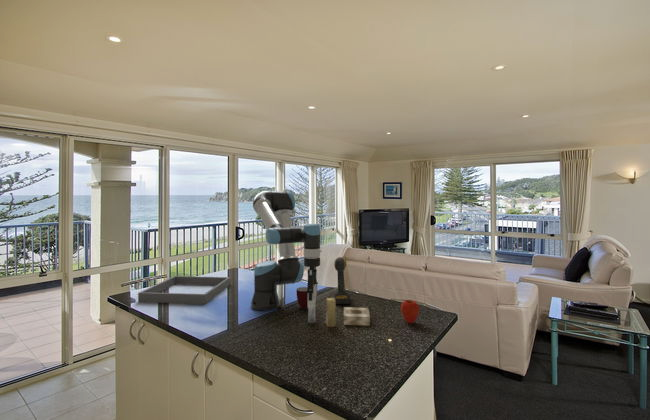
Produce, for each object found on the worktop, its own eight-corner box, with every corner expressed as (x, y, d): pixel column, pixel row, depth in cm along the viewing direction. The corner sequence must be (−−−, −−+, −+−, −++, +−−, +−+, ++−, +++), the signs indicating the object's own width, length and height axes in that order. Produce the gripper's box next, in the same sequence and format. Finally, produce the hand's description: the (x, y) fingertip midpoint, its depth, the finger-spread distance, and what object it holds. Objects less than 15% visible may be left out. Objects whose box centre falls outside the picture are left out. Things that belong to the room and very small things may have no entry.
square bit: (327, 327, 145) (327, 300, 145) (325, 323, 149) (326, 298, 148) (335, 326, 146) (335, 300, 145) (333, 323, 149) (333, 297, 149)
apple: (396, 320, 153) (396, 298, 153) (411, 318, 156) (411, 296, 156) (407, 327, 145) (408, 304, 145) (422, 324, 149) (423, 301, 148)
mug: (318, 308, 169) (318, 289, 168) (307, 312, 163) (307, 293, 162) (303, 304, 176) (304, 286, 175) (293, 307, 170) (293, 289, 169)
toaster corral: (138, 301, 177) (138, 293, 177) (174, 283, 215) (174, 275, 215) (205, 303, 175) (205, 294, 174) (230, 284, 212) (230, 277, 212)
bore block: (343, 324, 148) (343, 316, 148) (343, 315, 160) (343, 307, 160) (369, 325, 147) (369, 316, 147) (367, 315, 159) (368, 307, 159)
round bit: (307, 323, 149) (307, 297, 149) (308, 320, 153) (308, 295, 152) (314, 323, 149) (315, 297, 149) (315, 320, 153) (315, 295, 152)
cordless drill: (350, 295, 192) (350, 253, 191) (349, 306, 173) (350, 260, 171) (335, 294, 193) (335, 253, 192) (332, 305, 173) (333, 259, 172)
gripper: (317, 262, 137) (317, 311, 137) (322, 253, 162) (322, 294, 162) (300, 262, 137) (300, 311, 138) (307, 252, 162) (307, 294, 163)
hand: (312, 302), depth 150 cm, fingers open, 13 cm apart
